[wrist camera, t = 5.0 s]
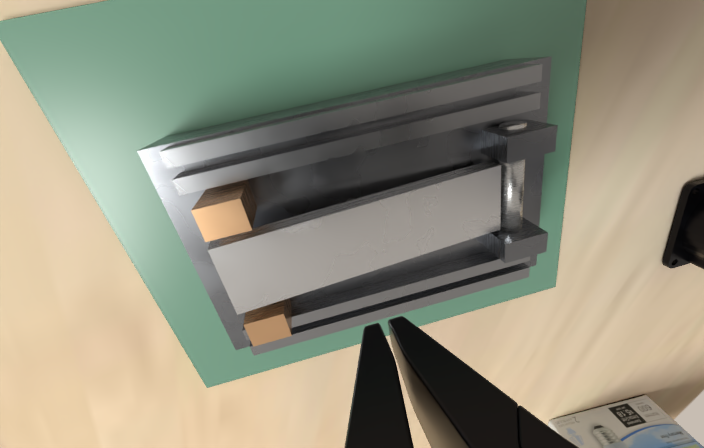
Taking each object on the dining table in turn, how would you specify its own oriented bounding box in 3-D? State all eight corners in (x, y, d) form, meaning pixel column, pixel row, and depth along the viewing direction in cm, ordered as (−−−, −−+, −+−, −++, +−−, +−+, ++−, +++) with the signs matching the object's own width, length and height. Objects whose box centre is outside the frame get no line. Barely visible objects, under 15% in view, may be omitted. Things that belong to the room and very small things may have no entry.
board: (551, 283, 23) (555, 286, 22) (208, 382, 21) (207, 387, 20) (588, -89, 14) (596, -93, 14) (-1, 24, 12) (-10, 22, 12)
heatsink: (502, 239, 20) (568, 289, 15) (243, 310, 19) (228, 389, 14) (505, 59, 15) (600, 52, 11) (165, 136, 14) (105, 166, 10)
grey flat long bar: (489, 222, 15) (500, 229, 14) (238, 302, 13) (237, 314, 13) (488, 160, 14) (501, 164, 13) (210, 240, 12) (207, 250, 11)
